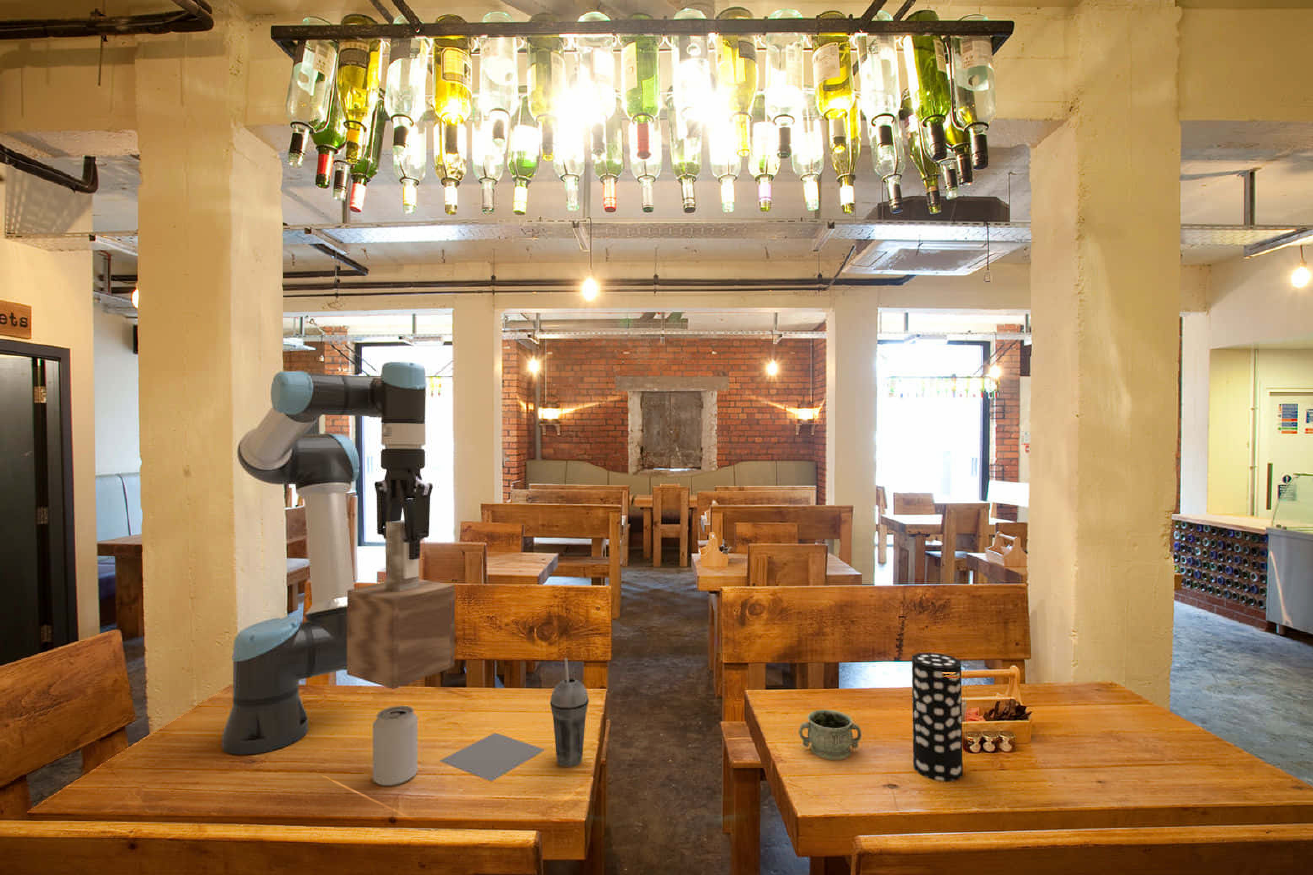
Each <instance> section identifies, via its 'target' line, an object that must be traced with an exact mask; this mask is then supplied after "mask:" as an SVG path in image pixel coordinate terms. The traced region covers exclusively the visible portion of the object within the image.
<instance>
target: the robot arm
mask: <svg viewBox="0 0 1313 875" xmlns="http://www.w3.org/2000/svg"><path fill="white" fill-rule="evenodd" d="M273 376H274V377H273V379H272V384H271V385H270V386H271V388H270V400H271V406H272V407H271V408H270V410H269V411H268V412H267V413H266V414H265V416H264V417H263V419H262V420H261V422H260V423H259V424H258V426H257V427H254V428H252V429H250V430H249V431H247V432H246V433H245V434H244V436H242V438H241V439H240V441H239V443H238V447H237V452H236V454H237V460H238V461H239V464H240V466H241V468H243V470H244V471H245V472H246V473H247V474H248V475H249V476H251V477H253V478H254V479H256V480H259V481H261V482H263V483H266V484H271V485H294V486H295V493H296V495H297V496H299V497H300V498H302V500H304V513H305V525H306V538H307V539H306V540H307V551H308V563H309V576H310V577H309V579H310V589H311V590H310V591H311V601H312V604H311V606H310V608H308V610H307V611H306V612H305V621H304V622H303V621H302V622H301V621H300V619H299V618H298V617H295V616H285V617H281V618H280V617H276V618H271V619H266V620H263V621H260V622H256V623H255V624H251V625H249V626H248V627H247V626H246V627H245V628H243V629H241V631H239V632H238V633H237V634H236V636H235V638H234V640H233V647H232V648H233V650H232V655H231V659H232V707H231V711H230V713H229V716H228V719H227V722H226V724H225V727H224V730H223V732H222V735H221V748H222V750H223V751H224V752H225V753H228V754H231V755H232V754H234V755H253V754H254V755H255V754H261V753H267V752H271V751H275V750H278V749H280V748H284V747H286V746H289V745H291V744H293V743H296V742H298V741H299V740H301V739H302V738H303V737H305V736H306V735H307V733H308V732H309V717H308V715H307V712H306V710H305V707H304V704H303V702H302V699H301V697H300V688H299V687H300V686H299V685H300V681H301V680H304V679H308V678H310V679H311V678H314V677H318V676H323V675H327V674H331V673H335V672H340V671H347V590H351V589H355V583H354V572H353V564H352V563H353V562H352V560H353V559H352V552H351V541H350V539H351V538H350V531H349V518H348V517H349V516H348V509H347V508H348V507H347V498H346V495H347V494H348V493H349V492H350V490H351V489H352V487H353V486H352V483H353V482H355V481H356V480H357V479H358V478H359V473H360V469H359V468H360V459H359V454H358V450H357V447H356V446H355V444H354V443H355V442H353V441H352V440H351V439H350V438H349V436H347V435H344V434H333V433H331V432H330V433H329V432H326V433H307V432H309V430H310V428H312V427H313V425H314V424H315V423H316V422H317V421H318V420H319V418H321V417H322V416H351V417H352V416H353V417H354V416H355V417H370V418H379V419H381V420H380V423H381V437H380V438H381V441H380V442H381V443H380V444H381V446H384V448H382V449H381V451H380V468H381V469H383V470H386V472H385V475H384V479H382V480H381V481H375V482H374V490H375V493H376V530H377V531H376V532H377V535H381V536H382V537H383V539H384V540H386V522H392V521H401V520H402V515H403V520H404V522H405V530H406V538H407V539H403V541H404V542H403V578H404V579H407V578H412V577H417V576H418V574H419V572H420V571H419V570H420V557H421V541H422V540H424V539H425V538H429V535H430V520H431V519H430V518H431V517H430V516H431V515H430V512H431V511H430V510H431V494H432V491H433V489H434V486H433V484H432V483H431V482H430V483H429V482H428V483H427V482H425V481H424V480H423V478H422V473H421V470H422V469H424V468H425V467H426V466H425V465H426V450H425V449H424V448H422V447H423V446H425V445H426V399H427V398H426V392H427V390H426V388H427V382H426V369H425V367H424V366H423V365H422V364H420V363H416V362H409V361H388V362H385V363H383V364H382V366H381V374H380V376H379V377H376V376H375V377H373V376H361V375H348V374H347V375H346V374H335V373H334V374H332V373H319V372H310V371H309V372H308V371H303V370H296V371H290V370H289V371H287V370H286V371H282V370H281V371H279V372H277V373H276V374H274V375H273ZM402 513H403V514H402ZM384 552H385V554H386V549H385V551H384ZM419 575H420V574H419Z"/></svg>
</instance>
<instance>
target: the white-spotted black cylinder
mask: <svg viewBox="0 0 1313 875" xmlns="http://www.w3.org/2000/svg"><path fill="white" fill-rule="evenodd" d="M911 668H912V669H911V677H912V678H911V679H912V680H911V682H912V684H911V688H912V689H911V690H912V694H911V695H912V696H911V698H912V700H911V701H912V766H913V769H914V770H915V771H916V773H918V774H920V775H921V776H924V777H926V778H928V779H932V780H936V781H940V782H942V781H943V782H953V781H957V780H960V779H961V778H962V777H963V774H964V773H963V765H964V764H963V712H962V711H963V708H962V706H963V705H962V704H963V703H962V702H963V701H962V699H963V698H962V662H961V660H960V659H958V658H956V657H954V656H951V655H949V654H948V655H947V654H944V653H943V654H942V653H936V652H921V653H920V652H919V653H915V654H913V655H912V656H911ZM942 672H956V673H955V674H943V673H942ZM945 675H954V676H959V677H961V678H947V677H942V676H945Z"/></svg>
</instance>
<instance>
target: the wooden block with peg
mask: <svg viewBox="0 0 1313 875" xmlns="http://www.w3.org/2000/svg"><path fill="white" fill-rule="evenodd" d="M403 539H407V538H406V530H405V522H404V519H401V521H392V522H386V539H385V550H386V553H385V582H382V583H376V584H372V585H366V586H362V587H357V588H354V589H351V590H347V670H346V675H348V676H351V677H354V678H355V679H356V678H357V679H360V680H362V681H366V682H370V683H371V684H375V685H379V686H382V687H385V688H388V689H391V690H395V689H398V688H400V687H403V686H405V685H408V684H412V683H414V682H416V681H418V680H422V679H425V678H427V677H430V676H433V675H435V674H437V673H440V672H444V671H446V670H448V669H451V668H454V667H455V662H456V661H455V660H456V659H455V655H456V654H455V650H456V649H455V647H456V645H455V642H456V640H455V636H456V635H455V634H456V632H455V631H456V630H455V629H456V628H455V627H456V626H455V625H456V624H455V623H456V620H455V619H456V614H455V613H456V610H455V609H456V585H455V584H450V583H444V582H439V581H432V580H426V579H421V578H419V577H420V574H418V576H417V577H412V578H407V579H404V578H403V542H404V541H403Z"/></svg>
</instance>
